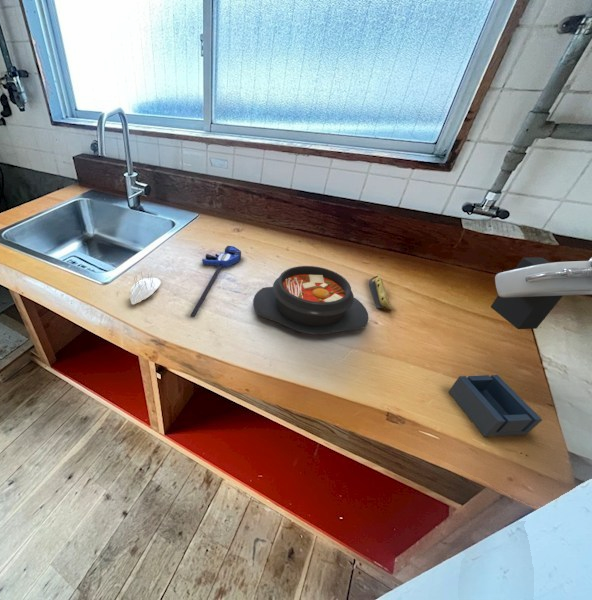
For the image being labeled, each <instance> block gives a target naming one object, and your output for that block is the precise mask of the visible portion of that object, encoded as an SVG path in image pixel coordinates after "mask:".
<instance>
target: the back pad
mask: <svg viewBox="0 0 592 600" xmlns="http://www.w3.org/2000/svg"><path fill="white" fill-rule="evenodd" d="M546 263H552V262H551V261H549V260H547V259H546V258H544V257H542V256H535V257H534V256H533V257H532V256H531V257H522V258H521V259H520V261H519V262H518V264H517V266H516V267H515V269H519V268H524V267H529V266H534V265H540V264H546ZM563 296H564V295H560V296H533V297H500V296H499V295H498V294H497V296H496V298H495V299H494V301H493V302H492V304H491V305H490V308H491V309H492V310H493V311H495V312H496V313H497V314H498V315H499V316H501V317H502V318H503V319H505V320H506V321H507V322H508V323H509V324H511V325H512V326H513V327H514V328H516V329H517V330H537V329H538V328H539V326H541V324H542V322H543V321H544V320H545V319H546V318H547V316H548V315H549V314H550V313H551V311H552V310H553V309H554V308H555V306H556V305H557V304H558V303H559V302H560V301H561V299H562V298H563Z"/></svg>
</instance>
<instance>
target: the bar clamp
mask: <svg viewBox="0 0 592 600" xmlns="http://www.w3.org/2000/svg"><path fill="white" fill-rule="evenodd" d="M241 260H242V250H240V249H239V248H237V247H235V246H234V245H227V246H226V247H225V248H224V252H220V254H217V253H215V255H211V254H208V253H206V254H205V258H202V260H201V262H202V263H201V264H203V265H209V266H216V267H217V268H216V269H215V272H214V273H213V275H212V276H211V278H210V279H209V282H208V283H207V285H206V287H205V288H204V291H202V294H201V296H200V297H199V299H198V301H197V303H196V305H195V306H194V308H193V310H192V312H191V313H190V316H191V317H195V316H196V315H197V312H198V311H199V309H200V307H201V305H202V303H203V301H204V300H205V298H206V296H207V294H208V293H209V291H210V289H211V287H212V285H213V283H214V281H215V280H216V278H217V276H218V274H219V272H220V271H221V269H222V268H224V269H225V268H226V269H227V268H229V267H231V266H233V265H235V264H237V263H238V262H240V261H241Z"/></svg>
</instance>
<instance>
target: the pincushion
mask: <svg viewBox="0 0 592 600" xmlns="http://www.w3.org/2000/svg"><path fill="white" fill-rule="evenodd" d="M140 273H141V274H143V273H142V271H141V272H140ZM152 275H153V274H152V273H151V274H150V276H152ZM147 276H148V277H147V278H144V277H141V278H142V279H141V280H138V277H137V276H135V277H133V278H134V280H137V281H136V282H135V283H134V284H133V286H132V287H131V289H130V291H129V300H130V304H131V305H133V306H135V305H136V304H137V303H141V302H142V301H143V300H147V299H148V298H149V297H150V296H151V295H153V294H154V292H155V291H156V290H158V288H159V286H161V284H162V282H161V280H160V278H157V277H150V276H149V275H147Z"/></svg>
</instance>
